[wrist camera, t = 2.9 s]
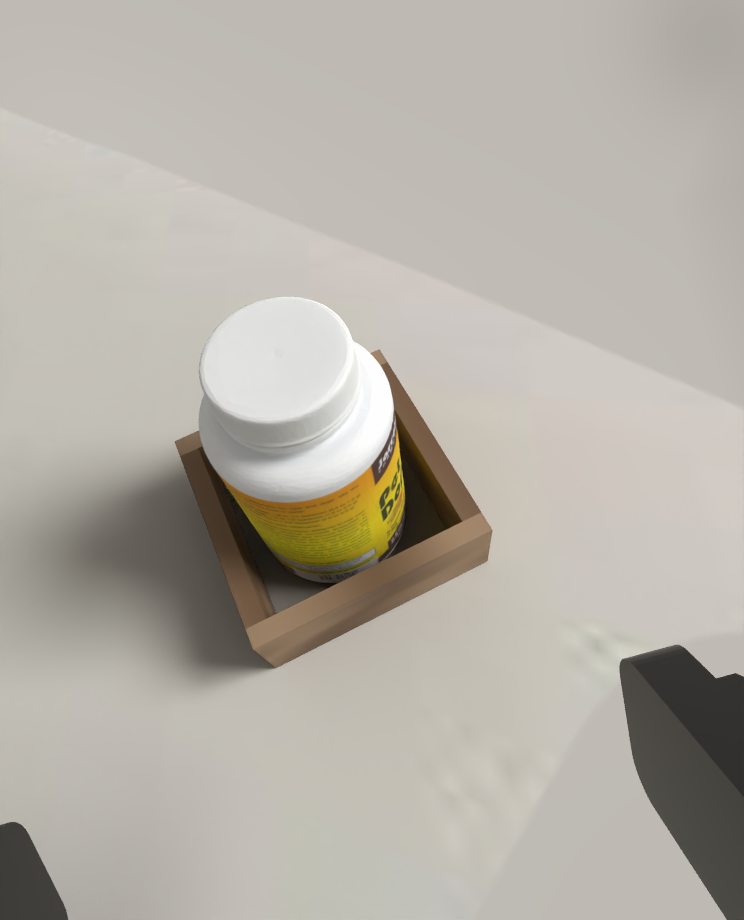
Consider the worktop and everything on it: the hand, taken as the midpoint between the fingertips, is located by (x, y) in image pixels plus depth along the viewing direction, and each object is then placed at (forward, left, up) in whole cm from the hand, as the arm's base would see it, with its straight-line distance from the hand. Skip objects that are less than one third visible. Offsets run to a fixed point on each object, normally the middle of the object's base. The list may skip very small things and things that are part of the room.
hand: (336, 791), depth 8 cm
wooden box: (+2, +10, -13) cm, 17 cm away
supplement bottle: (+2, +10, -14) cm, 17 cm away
